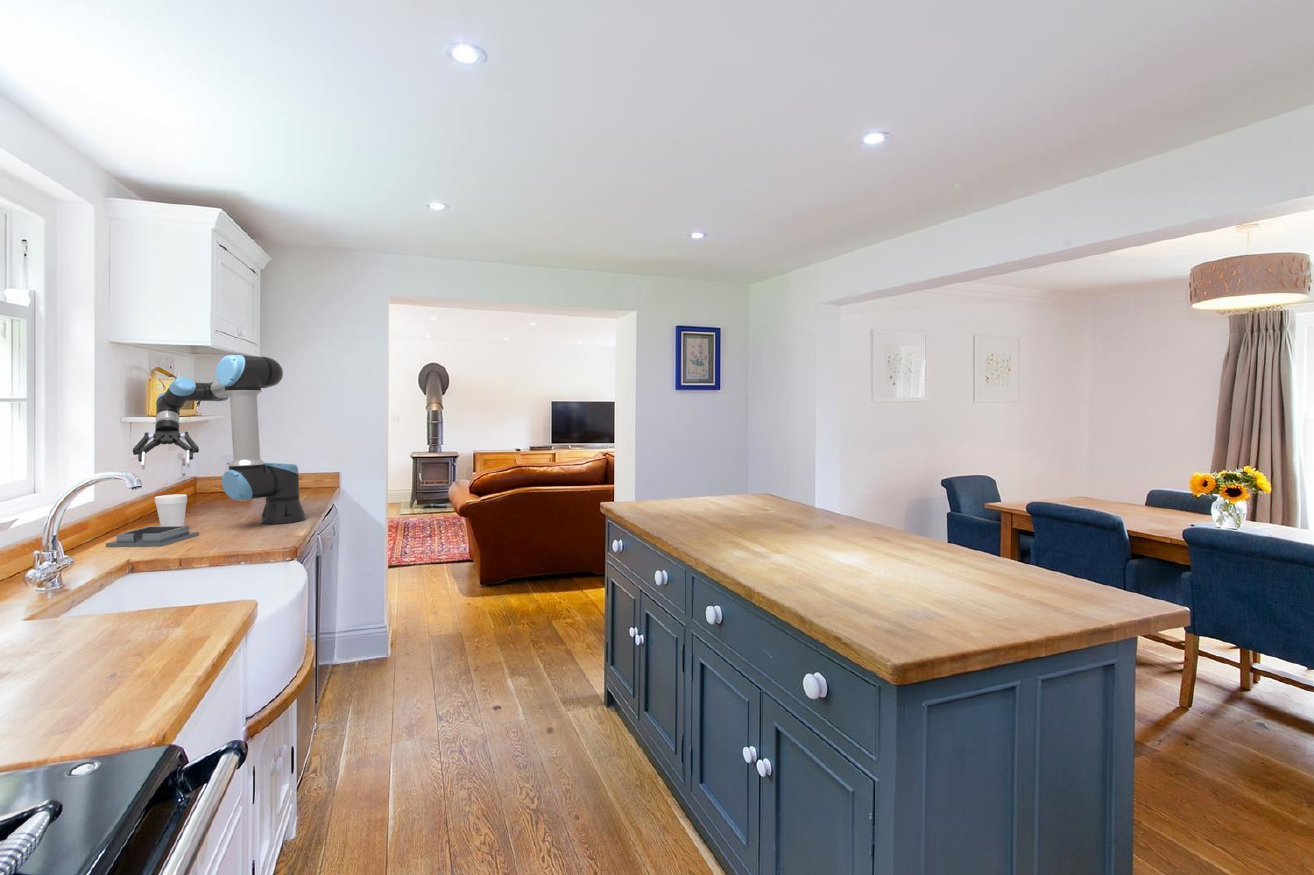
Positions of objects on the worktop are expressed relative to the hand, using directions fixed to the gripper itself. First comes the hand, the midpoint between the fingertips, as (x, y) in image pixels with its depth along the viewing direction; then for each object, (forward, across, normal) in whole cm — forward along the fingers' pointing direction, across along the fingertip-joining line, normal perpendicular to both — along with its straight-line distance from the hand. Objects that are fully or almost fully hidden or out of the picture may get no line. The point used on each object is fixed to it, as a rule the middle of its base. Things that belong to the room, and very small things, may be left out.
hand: (165, 466), depth 246 cm
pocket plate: (+36, +2, +3) cm, 36 cm away
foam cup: (+24, -2, -9) cm, 26 cm away
